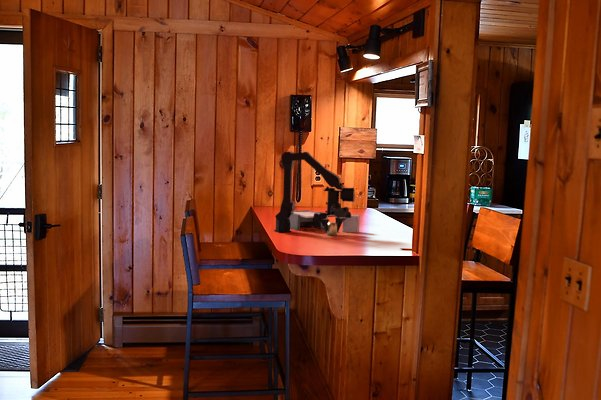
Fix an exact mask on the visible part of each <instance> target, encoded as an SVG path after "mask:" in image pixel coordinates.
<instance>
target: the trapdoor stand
mask: <svg viewBox="0 0 601 400" xmlns="http://www.w3.org/2000/svg"><path fill="white" fill-rule="evenodd" d="M294 212H314V211H313V210H306V209H305V210H294ZM289 219H290V230H294V231H300V227H303V226H304V227H305V226H308V227H311V228H315V229H317V230H318V229H319V230H324V227H323V225H322V223H321V221H320V220H319V219H317V218H313V220H312V221H308V222H300V215H299V214H295V213H293V214H292V215H290V218H289Z"/></svg>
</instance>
